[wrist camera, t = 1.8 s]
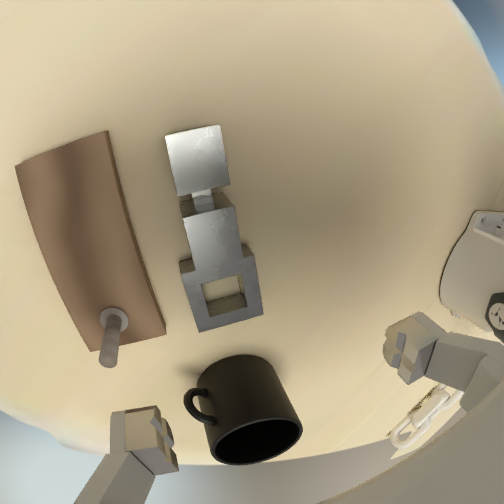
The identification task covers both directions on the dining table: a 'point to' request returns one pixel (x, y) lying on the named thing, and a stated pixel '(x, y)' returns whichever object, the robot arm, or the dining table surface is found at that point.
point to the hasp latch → (211, 229)
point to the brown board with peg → (90, 244)
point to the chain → (424, 415)
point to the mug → (244, 411)
